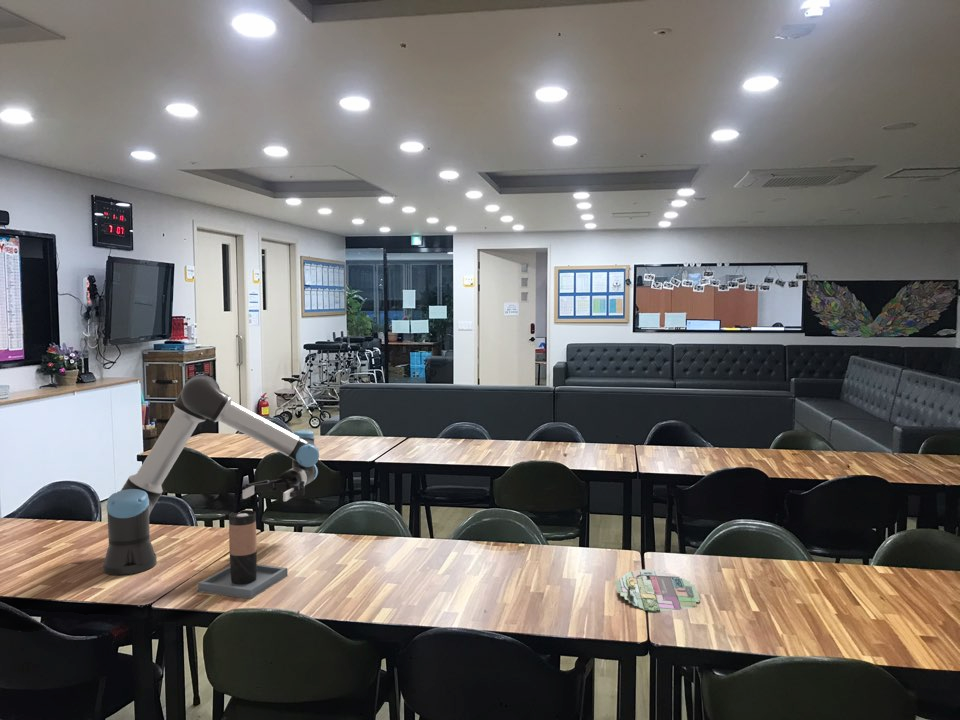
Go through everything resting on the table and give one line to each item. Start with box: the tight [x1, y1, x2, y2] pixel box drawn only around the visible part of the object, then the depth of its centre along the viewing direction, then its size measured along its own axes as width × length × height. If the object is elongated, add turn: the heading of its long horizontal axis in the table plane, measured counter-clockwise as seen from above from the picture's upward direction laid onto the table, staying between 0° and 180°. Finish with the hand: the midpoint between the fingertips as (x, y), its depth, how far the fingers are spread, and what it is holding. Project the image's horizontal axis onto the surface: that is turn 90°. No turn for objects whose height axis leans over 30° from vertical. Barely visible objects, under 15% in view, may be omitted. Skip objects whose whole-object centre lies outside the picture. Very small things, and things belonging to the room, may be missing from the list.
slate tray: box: [197, 563, 289, 600], centre depth 208 cm, size 18×18×2 cm
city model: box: [615, 569, 701, 613], centre depth 198 cm, size 25×24×6 cm
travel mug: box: [228, 509, 258, 584], centre depth 208 cm, size 8×8×20 cm
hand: (263, 495), depth 221 cm, fingers open, 13 cm apart
